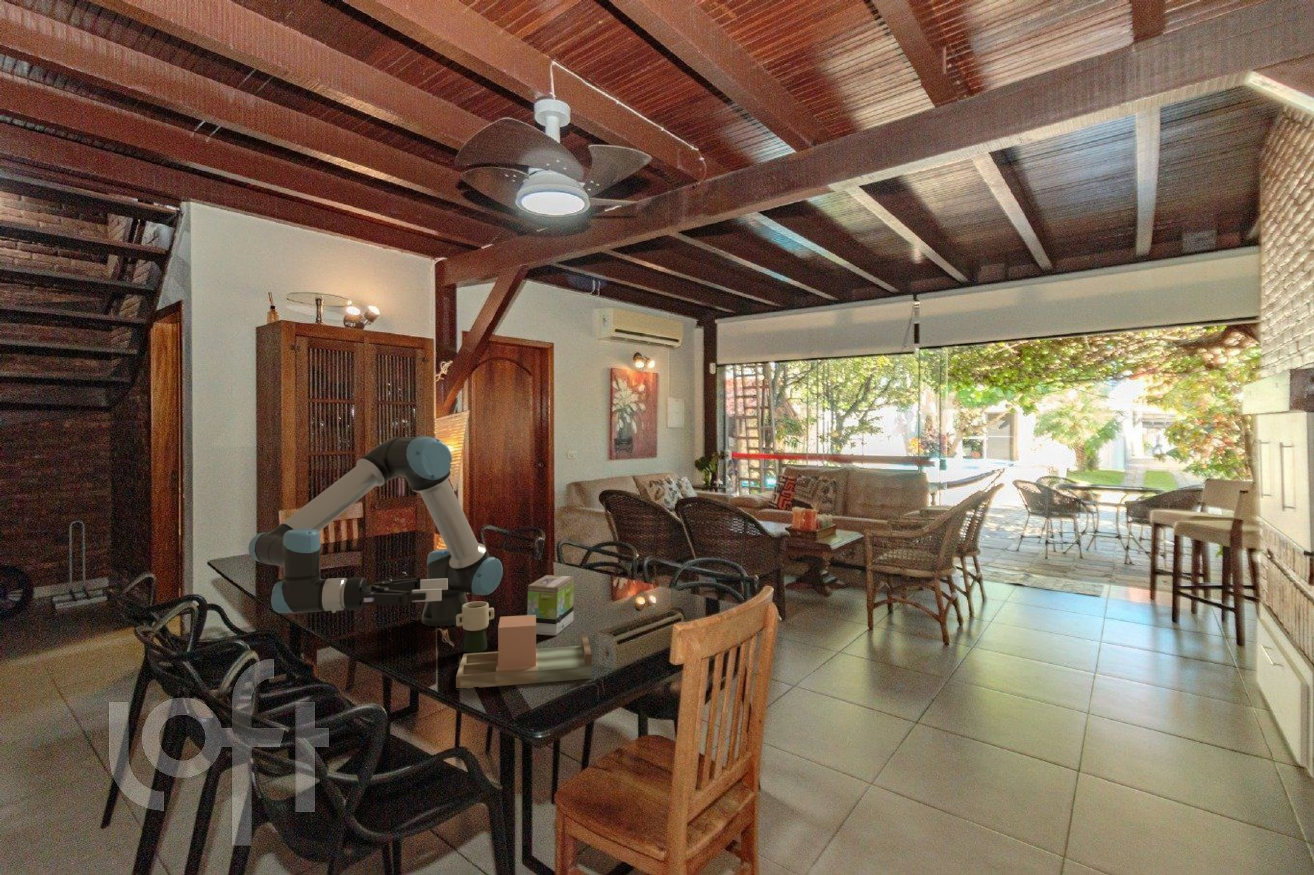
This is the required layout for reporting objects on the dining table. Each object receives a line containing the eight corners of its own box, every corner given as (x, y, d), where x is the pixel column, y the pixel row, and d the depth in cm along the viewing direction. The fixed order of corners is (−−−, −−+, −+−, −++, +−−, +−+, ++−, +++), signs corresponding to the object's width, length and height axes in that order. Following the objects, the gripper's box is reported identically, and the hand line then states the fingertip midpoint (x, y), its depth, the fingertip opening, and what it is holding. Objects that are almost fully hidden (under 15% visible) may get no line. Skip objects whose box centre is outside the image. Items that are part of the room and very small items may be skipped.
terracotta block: (500, 655, 157) (500, 616, 157) (536, 652, 158) (535, 614, 158) (498, 668, 148) (498, 627, 148) (535, 665, 150) (535, 625, 149)
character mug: (489, 643, 174) (488, 598, 174) (499, 650, 169) (499, 603, 169) (451, 652, 167) (451, 605, 167) (461, 659, 162) (460, 611, 162)
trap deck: (463, 665, 158) (463, 642, 158) (587, 656, 164) (586, 634, 164) (456, 689, 143) (455, 663, 143) (591, 678, 149) (591, 654, 149)
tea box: (557, 636, 180) (557, 586, 180) (526, 634, 182) (525, 585, 182) (574, 621, 195) (574, 575, 195) (545, 619, 197) (544, 573, 197)
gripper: (360, 597, 156) (450, 592, 161) (331, 623, 134) (437, 617, 139) (360, 568, 156) (450, 564, 160) (331, 590, 134) (437, 584, 139)
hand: (444, 589), depth 150 cm, fingers open, 10 cm apart
